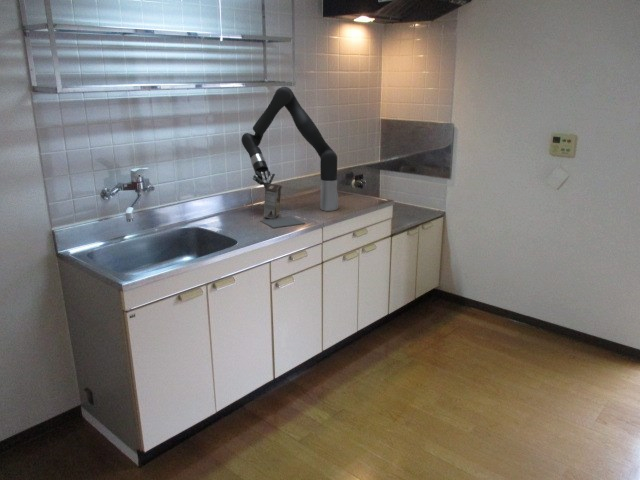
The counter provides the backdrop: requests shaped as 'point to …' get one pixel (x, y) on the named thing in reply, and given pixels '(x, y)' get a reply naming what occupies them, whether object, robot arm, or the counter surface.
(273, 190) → the coffee box
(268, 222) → the rubber mat
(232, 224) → the counter surface
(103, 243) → the counter surface
